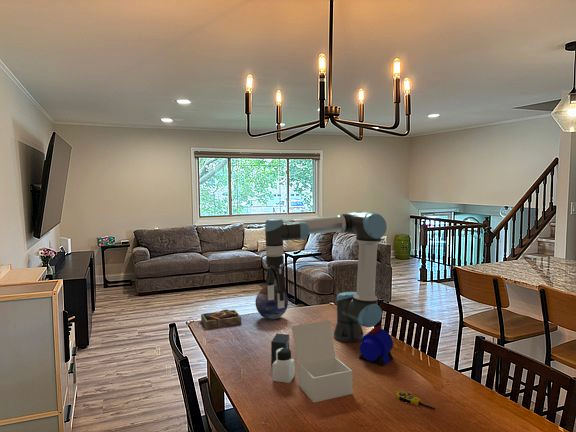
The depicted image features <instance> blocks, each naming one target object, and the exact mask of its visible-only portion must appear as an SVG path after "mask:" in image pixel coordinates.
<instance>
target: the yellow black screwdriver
mask: <svg viewBox="0 0 576 432" xmlns="http://www.w3.org/2000/svg"><path fill="white" fill-rule="evenodd" d="M395 398H396V399H398V400H399V401H401V402H403V403H405V402H407V403H406V404H408V403H410V404H409V405H412V404H413V406H419V405H418V404H420V405H421V406H423V407H427V408H428V409H431V410H433V409H434V411H435V410H436V408H435V407H433V406H431V405H428V404H425V403H423V402H421V401H422V400H421V398H419V397H418V396H416V395H414V394H412V393H409V392H403V391H398V392H395Z"/></svg>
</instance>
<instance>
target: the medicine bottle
mask: <svg viewBox="0 0 576 432" xmlns="http://www.w3.org/2000/svg"><path fill="white" fill-rule="evenodd" d="M291 350H292V349H291ZM291 350H290V348H289V349H287V348H280V349H278V350H277V351H276V361H275V362H274V363H273V364H272V381H274V382H278V383H284V384H285V383H286V384H289V383H290V382H291V381H292V380H293V378H294V377H295V376H296V374H295V373H296V372H295V371H296V370H295V368H296V367H295V362H296V361H295V360H296V359H294V358H292V351H291Z"/></svg>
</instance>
